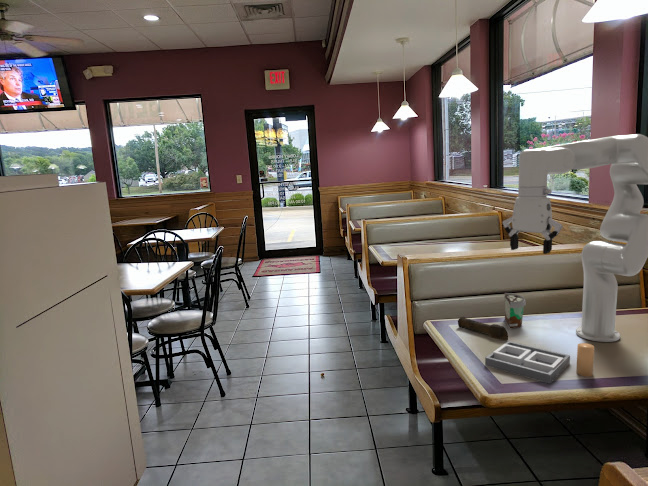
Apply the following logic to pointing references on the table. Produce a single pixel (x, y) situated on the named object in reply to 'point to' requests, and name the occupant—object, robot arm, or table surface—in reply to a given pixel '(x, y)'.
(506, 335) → the hand tool
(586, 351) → the rounded peg
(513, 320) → the food container
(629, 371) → the table surface
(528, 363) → the tray
